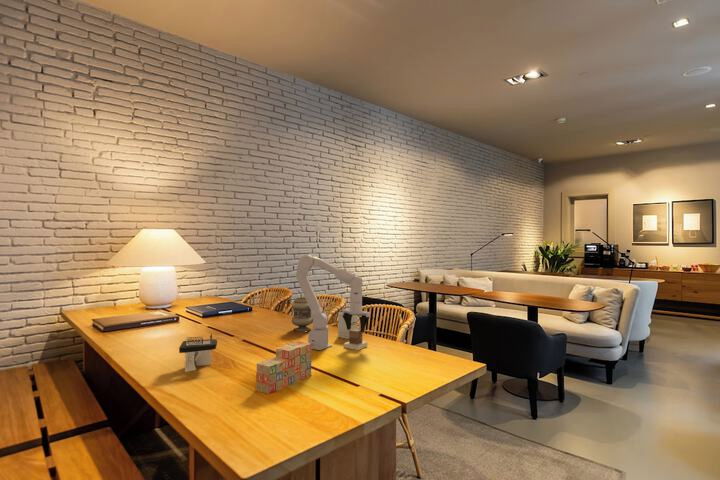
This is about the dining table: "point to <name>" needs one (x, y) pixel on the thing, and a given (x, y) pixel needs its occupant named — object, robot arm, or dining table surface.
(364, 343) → the base slab
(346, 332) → the supplement box
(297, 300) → the stone urn vase
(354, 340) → the walnut block
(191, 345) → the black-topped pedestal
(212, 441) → the dining table surface
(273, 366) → the stack of blocks
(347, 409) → the dining table surface
